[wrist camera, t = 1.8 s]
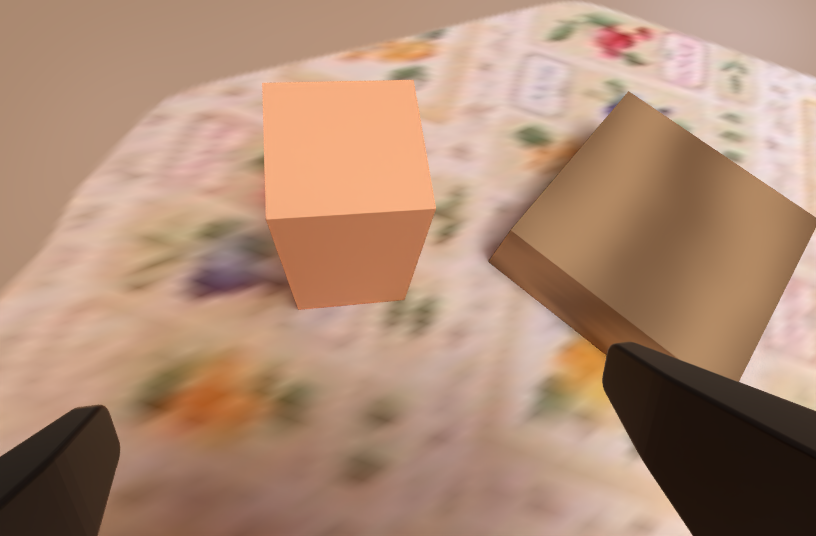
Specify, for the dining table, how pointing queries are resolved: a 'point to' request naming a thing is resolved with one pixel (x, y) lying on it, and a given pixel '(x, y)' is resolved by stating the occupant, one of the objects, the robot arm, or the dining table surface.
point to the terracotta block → (346, 188)
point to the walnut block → (658, 244)
